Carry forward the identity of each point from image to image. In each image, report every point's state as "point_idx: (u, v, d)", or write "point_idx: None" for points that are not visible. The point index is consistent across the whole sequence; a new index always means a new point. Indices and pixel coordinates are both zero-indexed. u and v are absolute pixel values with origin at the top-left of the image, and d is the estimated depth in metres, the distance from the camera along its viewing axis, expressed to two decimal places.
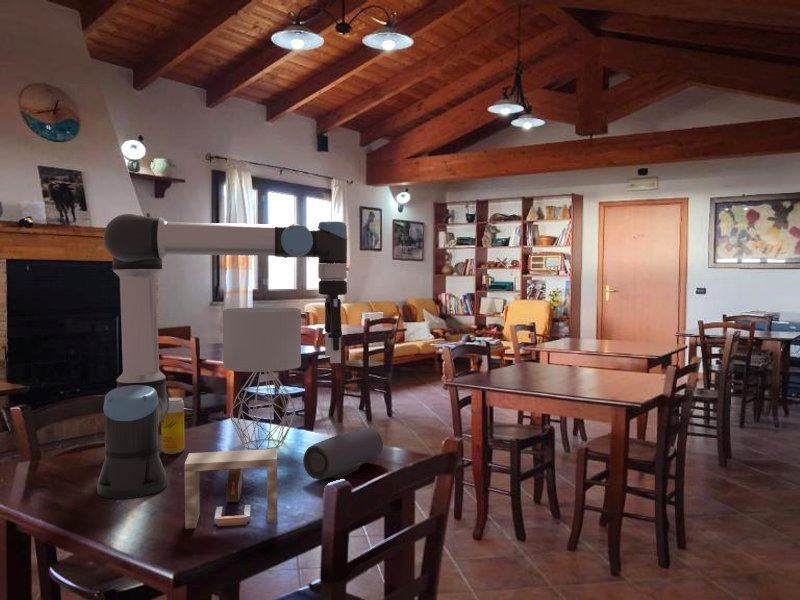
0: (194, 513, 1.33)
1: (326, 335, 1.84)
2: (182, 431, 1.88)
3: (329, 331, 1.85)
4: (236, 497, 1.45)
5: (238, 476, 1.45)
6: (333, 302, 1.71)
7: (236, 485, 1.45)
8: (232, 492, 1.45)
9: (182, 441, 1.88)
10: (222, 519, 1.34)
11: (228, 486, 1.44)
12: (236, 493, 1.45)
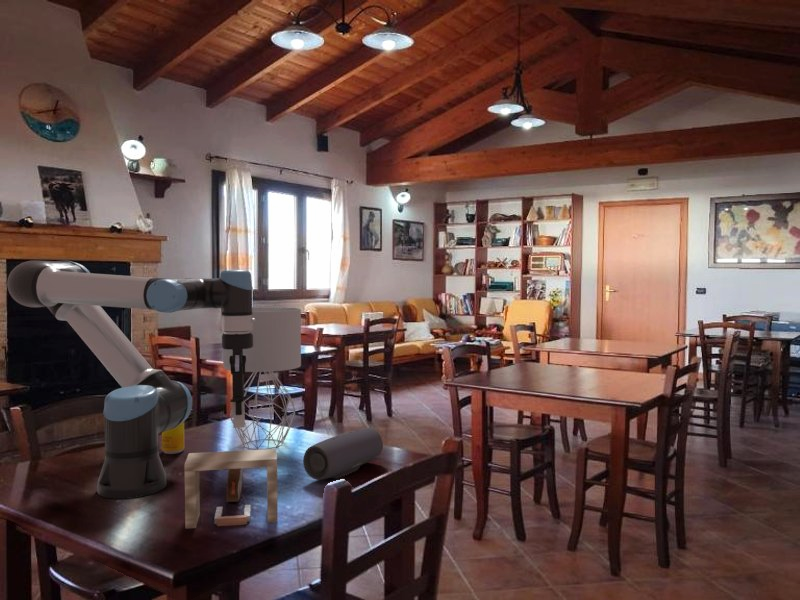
0: (194, 513, 1.33)
1: None
2: (182, 431, 1.88)
3: None
4: (236, 497, 1.45)
5: (238, 476, 1.45)
6: (234, 368, 1.59)
7: (236, 485, 1.45)
8: (232, 492, 1.45)
9: (182, 441, 1.88)
10: (222, 519, 1.34)
11: (228, 486, 1.44)
12: (236, 493, 1.45)
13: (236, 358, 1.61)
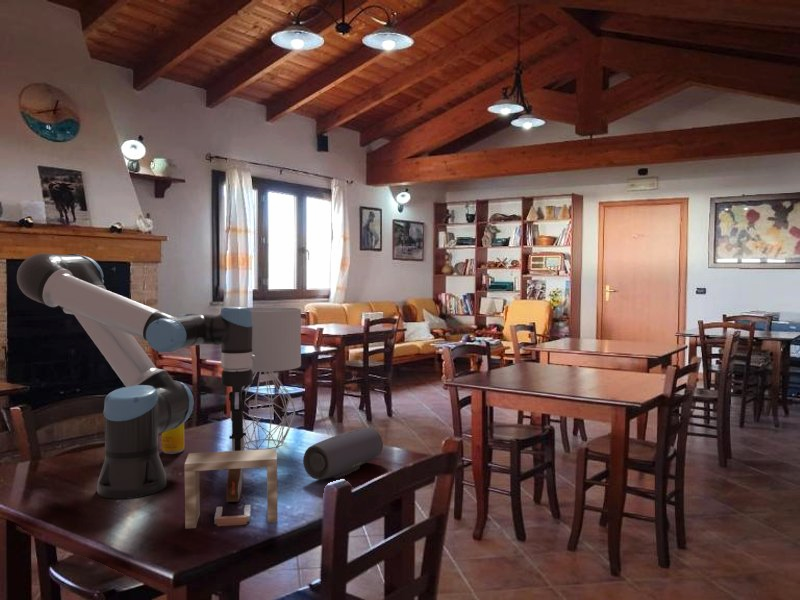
0: (194, 513, 1.33)
1: None
2: (182, 431, 1.88)
3: None
4: (236, 497, 1.45)
5: (238, 476, 1.45)
6: (234, 406, 1.59)
7: (236, 485, 1.45)
8: (232, 492, 1.45)
9: (182, 441, 1.88)
10: (222, 519, 1.34)
11: (228, 486, 1.44)
12: (236, 493, 1.45)
13: (236, 396, 1.61)
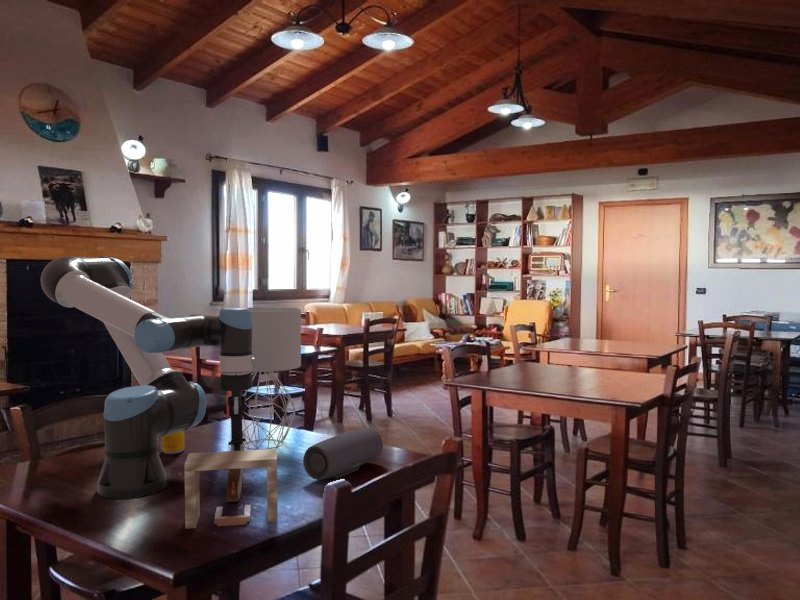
0: (194, 513, 1.33)
1: None
2: (182, 431, 1.88)
3: None
4: (236, 497, 1.45)
5: (238, 476, 1.45)
6: (233, 411, 1.53)
7: (236, 485, 1.45)
8: (232, 492, 1.45)
9: (182, 441, 1.88)
10: (222, 519, 1.34)
11: (228, 486, 1.44)
12: (236, 493, 1.45)
13: (235, 400, 1.55)
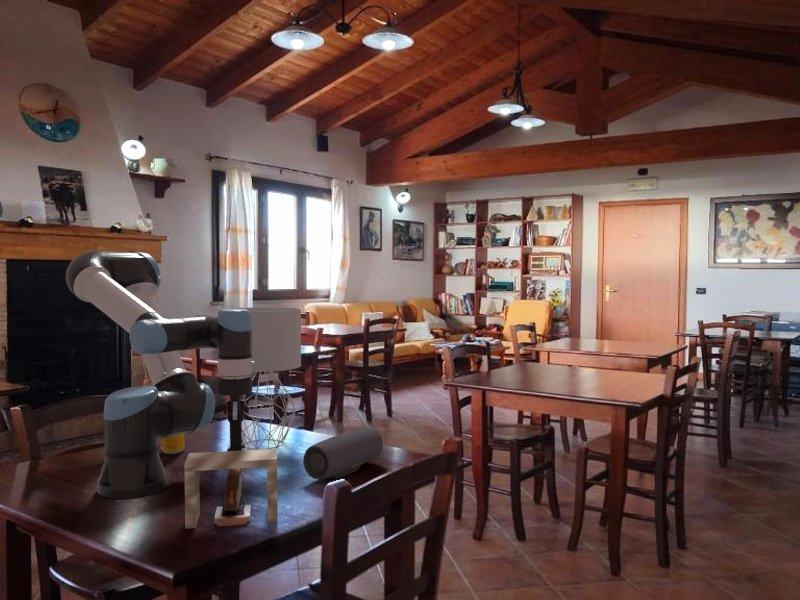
0: (194, 513, 1.33)
1: None
2: None
3: None
4: (235, 506, 1.39)
5: (237, 484, 1.39)
6: (232, 417, 1.47)
7: (235, 494, 1.39)
8: (230, 501, 1.39)
9: (182, 441, 1.88)
10: (222, 519, 1.34)
11: (226, 495, 1.38)
12: (235, 502, 1.39)
13: (234, 405, 1.49)
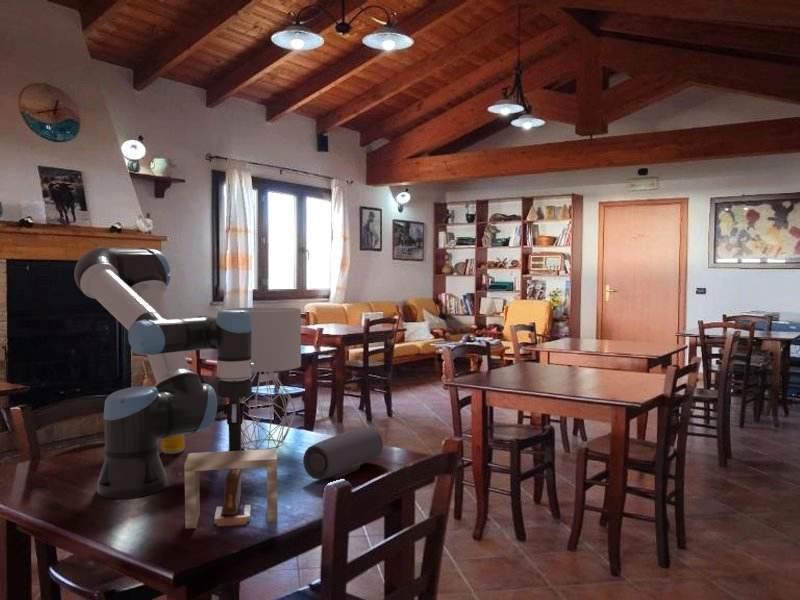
0: (194, 513, 1.33)
1: None
2: None
3: None
4: (233, 510, 1.37)
5: (236, 488, 1.37)
6: (231, 419, 1.45)
7: (233, 498, 1.36)
8: (229, 505, 1.36)
9: (182, 441, 1.88)
10: (222, 519, 1.34)
11: (225, 499, 1.36)
12: (233, 506, 1.36)
13: (233, 408, 1.47)
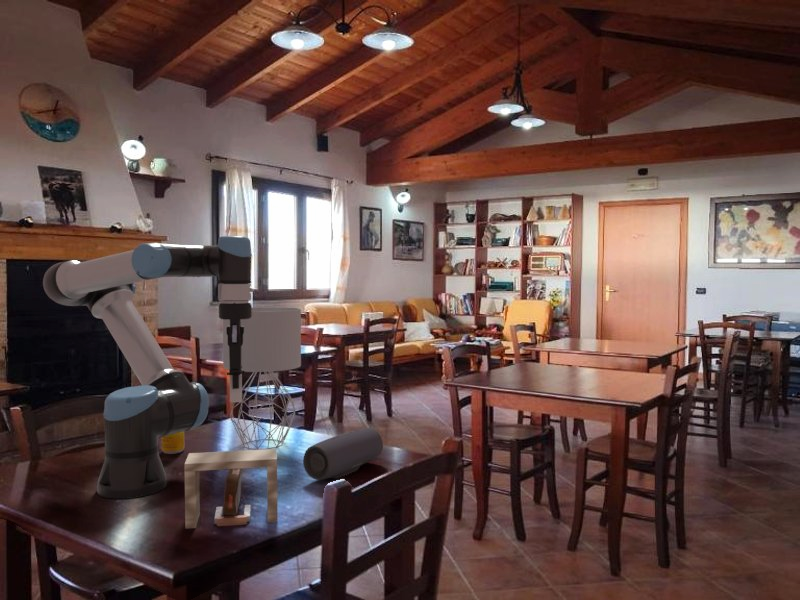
0: (194, 513, 1.33)
1: None
2: None
3: None
4: (234, 511, 1.37)
5: (236, 488, 1.37)
6: (231, 339, 1.51)
7: (233, 498, 1.36)
8: (229, 505, 1.36)
9: (182, 441, 1.88)
10: (222, 519, 1.34)
11: (225, 499, 1.36)
12: (233, 506, 1.36)
13: (234, 329, 1.53)
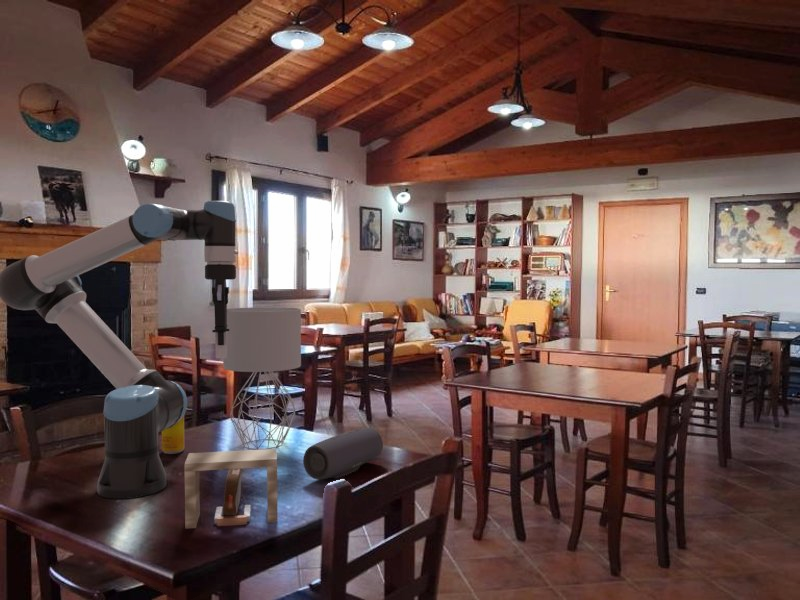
0: (194, 513, 1.33)
1: None
2: (182, 431, 1.88)
3: None
4: (234, 511, 1.37)
5: (236, 488, 1.37)
6: (216, 297, 1.61)
7: (233, 498, 1.36)
8: (229, 506, 1.36)
9: (182, 441, 1.88)
10: (222, 519, 1.34)
11: (225, 499, 1.36)
12: (234, 507, 1.36)
13: (219, 288, 1.63)
